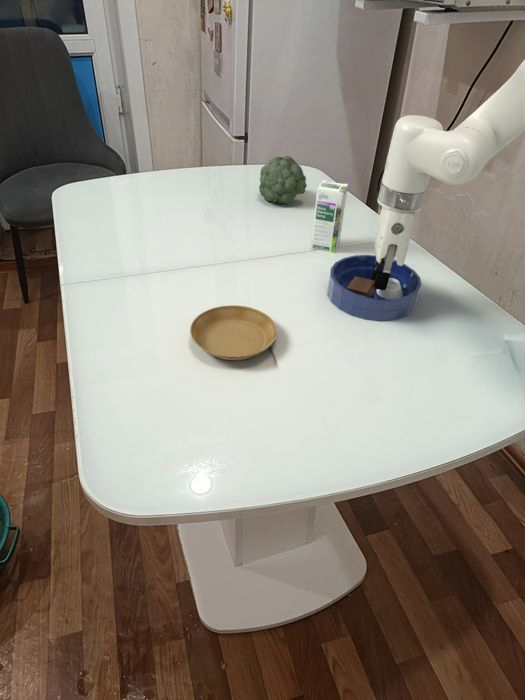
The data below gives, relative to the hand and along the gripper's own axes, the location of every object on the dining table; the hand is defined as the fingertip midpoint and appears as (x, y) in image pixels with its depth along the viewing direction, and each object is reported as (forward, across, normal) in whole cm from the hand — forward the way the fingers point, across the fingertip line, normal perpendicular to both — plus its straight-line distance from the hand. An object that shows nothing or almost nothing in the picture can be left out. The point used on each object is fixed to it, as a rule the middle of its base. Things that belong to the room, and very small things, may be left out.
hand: (377, 286), depth 98 cm
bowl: (+3, +1, 0) cm, 3 cm away
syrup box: (+4, +21, +10) cm, 24 cm away
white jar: (+3, +2, -3) cm, 4 cm away
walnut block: (+2, -3, +3) cm, 4 cm away
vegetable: (+5, +47, +23) cm, 52 cm away
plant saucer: (+4, -18, +25) cm, 31 cm away
